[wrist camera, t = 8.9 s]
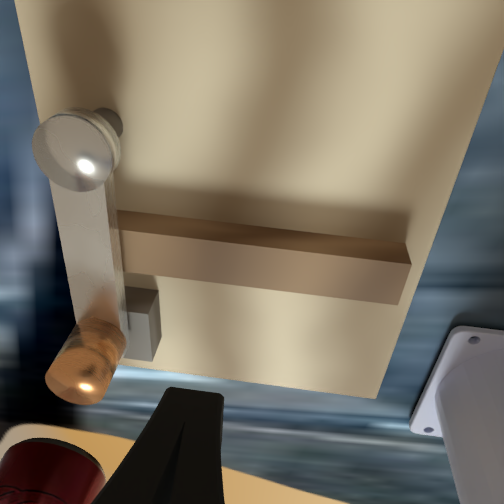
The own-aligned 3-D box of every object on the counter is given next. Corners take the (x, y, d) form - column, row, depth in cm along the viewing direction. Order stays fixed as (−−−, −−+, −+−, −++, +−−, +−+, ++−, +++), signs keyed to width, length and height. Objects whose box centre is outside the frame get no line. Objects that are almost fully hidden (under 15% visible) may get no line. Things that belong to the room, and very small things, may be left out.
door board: (510, -8, 13) (548, 2, 11) (373, 383, 24) (379, 426, 22) (21, -51, 14) (-30, -50, 12) (96, 346, 24) (76, 385, 22)
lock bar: (137, 344, 20) (110, 409, 17) (84, 336, 20) (48, 399, 17) (118, 112, 14) (70, 154, 11) (41, 102, 14) (-24, 142, 11)
